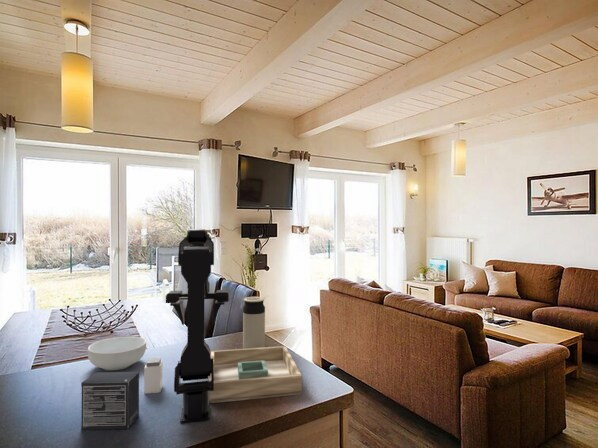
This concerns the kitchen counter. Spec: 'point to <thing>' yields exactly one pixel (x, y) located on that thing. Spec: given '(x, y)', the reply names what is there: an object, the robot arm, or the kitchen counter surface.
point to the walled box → (254, 374)
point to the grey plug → (153, 375)
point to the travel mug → (253, 323)
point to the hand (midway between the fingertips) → (198, 324)
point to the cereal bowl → (116, 352)
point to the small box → (110, 400)
